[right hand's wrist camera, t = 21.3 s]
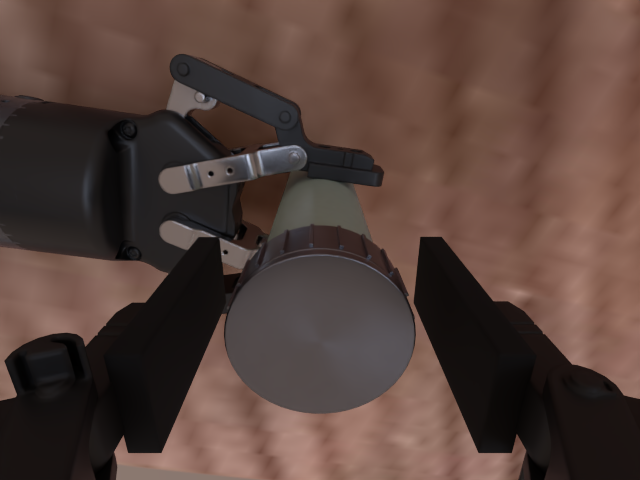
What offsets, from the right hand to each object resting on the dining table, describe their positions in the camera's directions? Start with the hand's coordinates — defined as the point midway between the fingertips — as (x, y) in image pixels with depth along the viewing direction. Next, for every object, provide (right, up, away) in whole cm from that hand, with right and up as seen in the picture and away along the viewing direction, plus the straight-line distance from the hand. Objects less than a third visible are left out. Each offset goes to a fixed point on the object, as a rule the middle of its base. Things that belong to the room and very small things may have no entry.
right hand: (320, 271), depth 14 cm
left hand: (+3, +2, +6) cm, 7 cm away
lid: (0, -1, -4) cm, 4 cm away
